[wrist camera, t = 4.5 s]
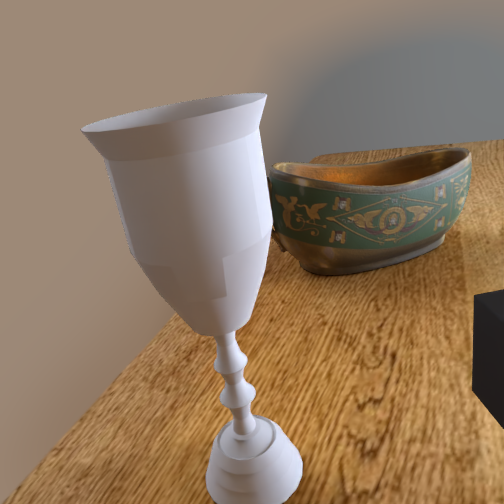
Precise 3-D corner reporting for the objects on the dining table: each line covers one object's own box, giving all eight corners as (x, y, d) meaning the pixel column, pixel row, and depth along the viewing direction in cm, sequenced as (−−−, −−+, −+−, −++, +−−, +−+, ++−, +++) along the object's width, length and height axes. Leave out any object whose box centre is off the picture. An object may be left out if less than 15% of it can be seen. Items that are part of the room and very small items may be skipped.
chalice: (333, 526, 20) (275, 103, 14) (181, 547, 21) (48, 142, 14) (309, 410, 27) (262, 88, 20) (194, 426, 27) (110, 114, 21)
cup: (280, 231, 55) (267, 145, 51) (467, 224, 48) (468, 124, 44) (245, 284, 44) (226, 179, 40) (482, 284, 37) (486, 158, 33)
